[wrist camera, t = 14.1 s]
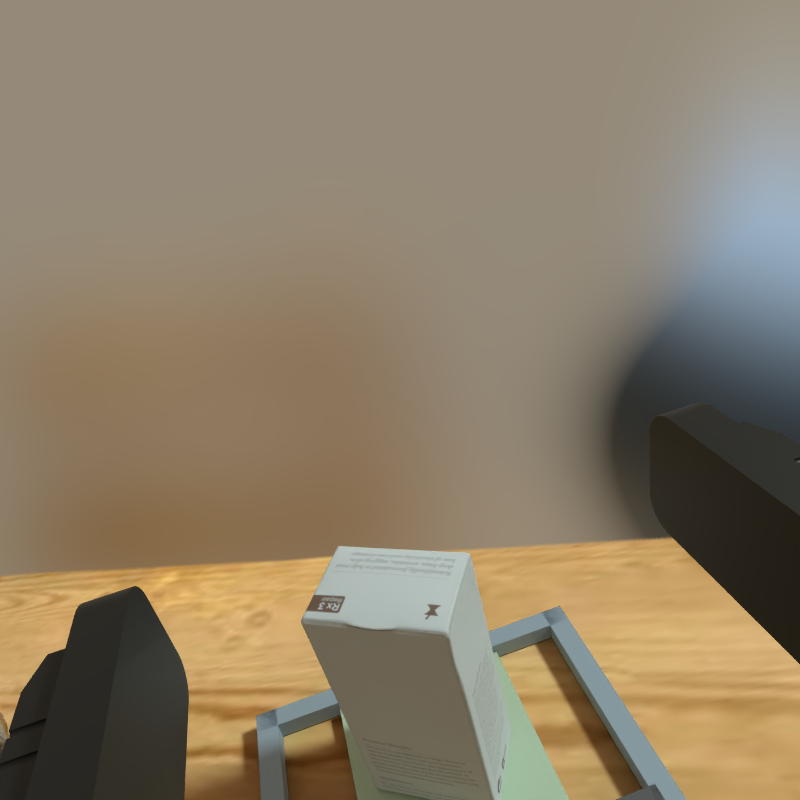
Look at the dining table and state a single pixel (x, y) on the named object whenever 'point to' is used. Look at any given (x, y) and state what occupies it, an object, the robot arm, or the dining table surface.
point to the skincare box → (413, 670)
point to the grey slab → (644, 794)
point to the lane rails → (503, 642)
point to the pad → (525, 768)
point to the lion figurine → (3, 732)
